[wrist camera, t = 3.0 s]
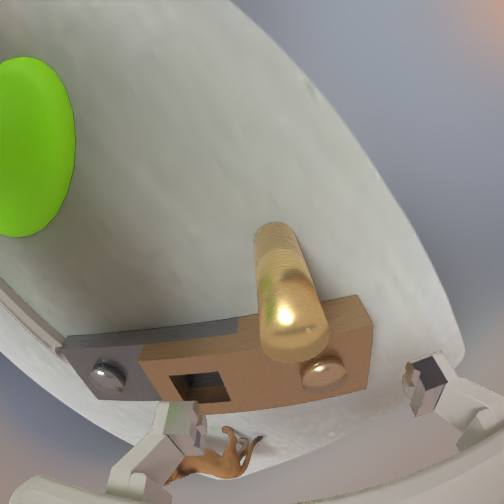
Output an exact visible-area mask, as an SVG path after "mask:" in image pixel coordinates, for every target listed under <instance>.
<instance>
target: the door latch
mask: <svg viewBox="0 0 504 504" xmlns="http://www.w3.org/2000/svg"><path fill="white" fill-rule="evenodd" d="M320 303H321V306H322V309H323V311H324V314H325V317H326V320H327V323H328V325H329V328H330V339H329V342H328V344H327V346H326V347H325V348H324V350H323V351H322V352H321V353H319V354H318V355H317V356H315V357H313V358H311V359H309V360H307V361H304V362H299V363H282V362H278V361H275V360H273V359H271V358H270V357H268V356H267V355H266V354H265V353H264V351H263V349H262V347H261V340H260V326H259V314H255V315H248V316H242V317H236V318H230V319H223V320H216V321H209V322H202V323H195V324H188V325H180V326H172V327H163V328H155V329H146V330H136V331H126V332H115V333H104V334H91V335H77V336H68V337H67V338H66V340H65V342H64V343H63V345H62V346H61V348H60V350H61V351H62V352H63V354H64V355H65V357H66V358H67V360H68V361H69V363H70V364H71V365H72V367H73V368H74V369H75V371H76V372H77V373H78V375H79V376H80V377H81V379H82V380H83V381H84V383H85V384H86V385H87V387H88V388H89V389H90V390H91V392H92V393H93V394H94V395H95V396H96V398H97V399H99V400H122V401H197V402H198V403H199V405H200V408H199V410H201V411H203V412H204V414H205V415H210V414H224V413H235V412H245V411H254V410H262V409H269V408H276V407H283V406H289V405H295V404H300V403H306V402H311V401H316V400H321V399H326V398H330V397H335V396H339V395H343V394H348V393H352V392H356V391H359V390H363V389H366V387H367V380H368V373H369V365H370V356H371V346H372V336H373V323H372V321H371V319H370V318H369V316H368V314H367V312H366V310H365V308H364V306H363V304H362V303H361V301H360V299H359V297H358V295H352V296H348V297H343V298H339V299H334V300H329V301H324V302H320Z"/></svg>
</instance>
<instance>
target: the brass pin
mask: <svg viewBox="0 0 504 504" xmlns="http://www.w3.org/2000/svg"><path fill="white" fill-rule="evenodd" d="M254 253H255V268H256V282H257V297H258V311H259V326H260V340H261V347H262V349H263V351H264V353H265V354H266V355H267V356H268V357H270V358H271V359H273V360H275V361H278V362H282V363H299V362H304V361H307V360H309V359H311V358H313V357H315V356H317V355H318V354H319V353H321V352H322V351H323V350H324V348H325V347H326V346H327V344H328V342H329V339H330V328H329V325H328V323H327V320H326V317H325V314H324V311H323V309H322V306H321V303H320V300H319V297H318V295H317V292H316V289H315V287H314V284H313V281H312V278H311V276H310V273H309V270H308V268H307V265H306V262H305V260H304V257H303V255H302V252H301V249H300V247H299V244H298V242H297V239H296V237H295V234H294V232H293V231H292V229H291V228H290V227H289V226H287V225H285V224H283V223H278V222H273V223H268V224H266V225H264V226H263V227H261V228H260V229H259V230H258V231H257V233H256V235H255V238H254Z"/></svg>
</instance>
